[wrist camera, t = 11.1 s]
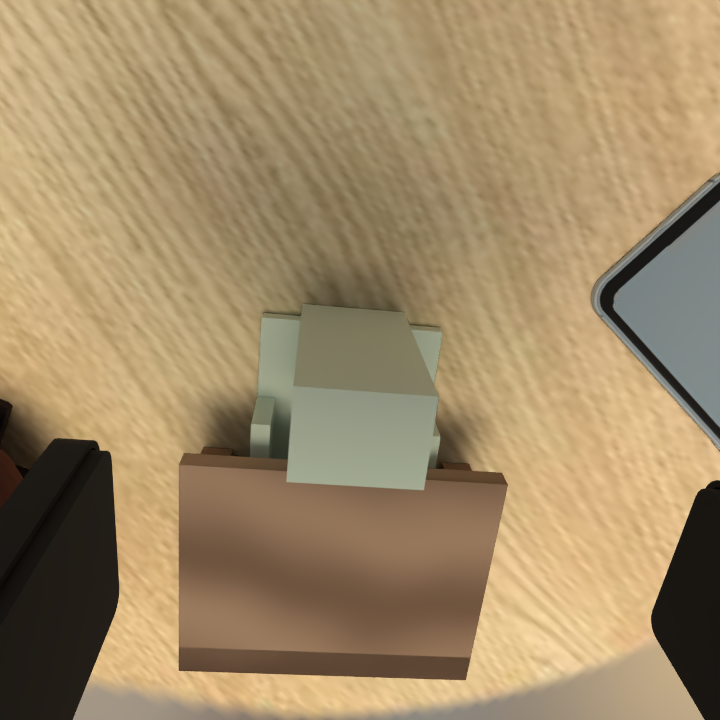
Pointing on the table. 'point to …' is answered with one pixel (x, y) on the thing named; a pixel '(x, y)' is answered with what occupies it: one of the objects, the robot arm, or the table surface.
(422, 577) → the shelf
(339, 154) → the table surface
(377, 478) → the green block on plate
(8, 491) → the mate gourd
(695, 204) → the smartphone
